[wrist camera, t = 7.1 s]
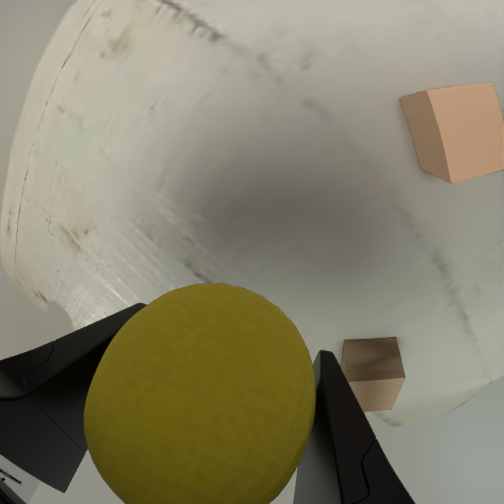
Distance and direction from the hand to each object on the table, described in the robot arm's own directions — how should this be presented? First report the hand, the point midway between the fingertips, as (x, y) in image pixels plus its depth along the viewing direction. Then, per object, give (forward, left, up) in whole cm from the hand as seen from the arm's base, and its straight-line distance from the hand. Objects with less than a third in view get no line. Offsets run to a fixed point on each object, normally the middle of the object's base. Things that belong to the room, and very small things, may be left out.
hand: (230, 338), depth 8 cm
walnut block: (-11, +12, -13) cm, 20 cm away
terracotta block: (-10, -9, -13) cm, 18 cm away
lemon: (0, 0, -2) cm, 2 cm away
